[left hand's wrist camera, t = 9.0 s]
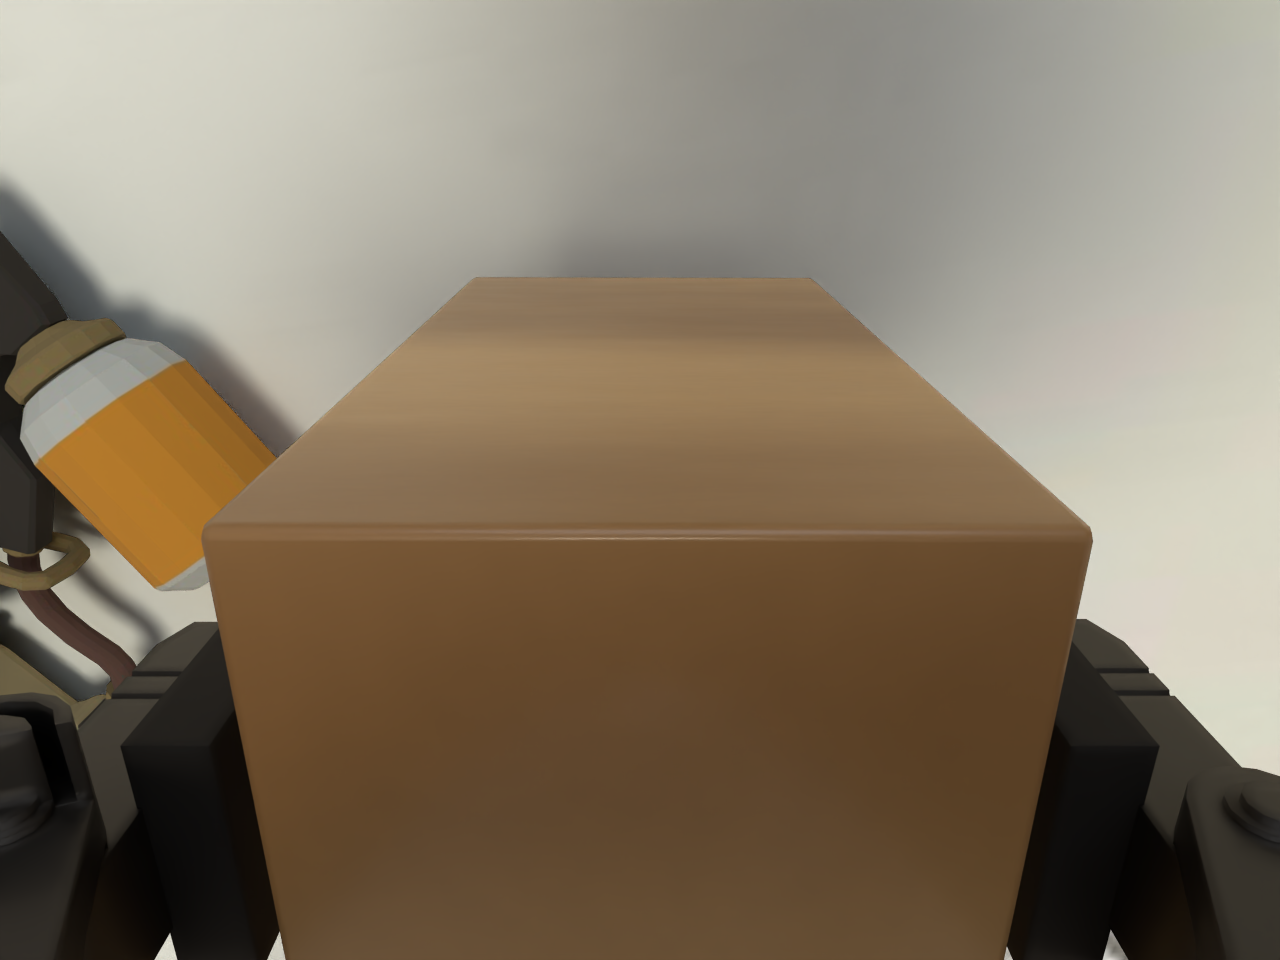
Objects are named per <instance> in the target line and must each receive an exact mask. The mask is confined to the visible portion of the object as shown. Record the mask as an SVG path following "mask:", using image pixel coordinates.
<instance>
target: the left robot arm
mask: <svg viewBox="0 0 1280 960" xmlns="http://www.w3.org/2000/svg"><path fill="white" fill-rule="evenodd" d="M111 694H112V696H111V699H106V700H105V701H104V702H103V703H102V704H101V705H100V706H99V707H98V708H97V710H96V711H95V712H94V713H93V714H92V715H91V716H90V717H89V718H88V719H87V720H86V721H85V722H84V724H83V725H82V726H81V727H80V728H79V729H78V730H77V727H76V724H75V721H74V717H73V714H72V710H71V707H70V705H68V704H67V703H66V702H64V701H63V700H61V699H60V698H59V697H57V696H54V695H47V694H40V693H34V692H29V693H19V694H8V695H0V960H154V959H155V958H156V956H157V954H158V952H159V951H160V949H161V947H162V946H163V944H164V942H165V940H166V939H167V937H168V935H169V934H171V938H172V941H173V945H174V949H175V952H176V956H177V960H267V959H268V956H269V954H270V952H271V950H272V947H273V945H274V943H275V941H276V938H277V936H278V934H279V932H280V929H279V924H278V919H277V914H276V909H275V904H274V900H273V895H272V890H271V885H270V880H269V875H268V870H267V865H266V860H265V855H264V850H263V845H262V840H261V835H260V830H259V825H258V820H257V815H256V810H255V805H254V800H253V795H252V790H251V785H250V780H249V775H248V770H247V765H246V760H245V755H244V750H243V745H242V741H241V736H240V731H239V726H238V721H237V716H236V711H235V706H234V701H233V696H232V691H231V686H230V681H229V676H228V671H227V666H226V661H225V656H224V651H223V646H222V641H221V636H220V631H219V626H218V622H194V623H192V624H190V625H189V626H187V627H185V628H184V629H182V630H180V631H179V632H177V633H175V634H174V635H172V636H170V637H169V638H167V639H165V640H164V641H162V642H160V643H159V644H157V645H156V646H155V647H154V648H153V649H152V650H151V651H150V652H149V654H148V655H147V656H146V657H145V658H144V659H143V660H142V661H141V662H140V663H139V664H138V665H137V666H136V668H135V669H134V670H133V671H132V676H131V677H126V678H125V679H124V680H123V682H122V683H121V684H120V685H119V686H118V687H117V688H116V689H115V690H114V691H113V692H112V693H111ZM1110 930H1111V931H1112V932H1113V934H1114V936H1115V937H1116V939H1117V941H1118V943H1119V944H1120V946H1121V948H1122V949H1123V951H1124V953H1125V955H1126V956H1127V958H1128V960H1280V776H1277V775H1274V774H1271V773H1267V772H1264V771H1261V770H1258V769H1251V768H1242V767H1241V766H1240V765H1239V764H1238V763H1237V762H1236V761H1235V760H1234V759H1233V758H1232V757H1231V756H1230V755H1229V753H1228V752H1227V751H1226V750H1225V749H1224V748H1223V747H1222V746H1221V745H1220V744H1219V743H1218V742H1217V741H1216V740H1215V738H1214V737H1213V736H1212V735H1211V734H1210V733H1209V732H1208V731H1207V730H1206V729H1205V728H1204V727H1203V726H1202V725H1201V724H1200V722H1199V721H1198V720H1197V719H1196V718H1195V717H1194V716H1193V715H1192V714H1191V713H1190V712H1189V711H1188V710H1187V709H1186V707H1185V706H1184V705H1183V704H1182V703H1181V702H1180V701H1179V700H1178V699H1177V698H1176V697H1175V696H1170V694H1169V689H1168V688H1167V687H1166V686H1165V685H1164V684H1163V683H1162V682H1161V681H1160V680H1159V679H1158V678H1157V676H1156V675H1155V674H1154V673H1149V668H1148V667H1147V666H1146V665H1145V664H1144V663H1143V661H1142V660H1141V659H1140V658H1139V657H1138V656H1137V655H1136V654H1135V653H1134V652H1133V651H1132V650H1131V649H1130V648H1129V647H1128V645H1127V644H1126V643H1125V642H1124V641H1122V640H1120V639H1119V638H1117V637H1115V636H1114V635H1112V634H1110V633H1109V632H1107V631H1105V630H1104V629H1102V628H1100V627H1099V626H1097V625H1095V624H1094V623H1092V622H1090V621H1089V620H1087V619H1076V623H1075V628H1074V633H1073V637H1072V642H1071V647H1070V651H1069V656H1068V661H1067V665H1066V670H1065V675H1064V679H1063V684H1062V689H1061V694H1060V698H1059V703H1058V708H1057V712H1056V717H1055V722H1054V726H1053V731H1052V736H1051V741H1050V745H1049V750H1048V755H1047V759H1046V764H1045V769H1044V773H1043V778H1042V783H1041V788H1040V792H1039V797H1038V802H1037V806H1036V811H1035V816H1034V820H1033V825H1032V830H1031V834H1030V839H1029V844H1028V849H1027V853H1026V858H1025V863H1024V867H1023V872H1022V877H1021V881H1020V886H1019V891H1018V896H1017V900H1016V905H1015V910H1014V914H1013V919H1012V924H1011V928H1010V933H1009V938H1008V943H1007V947H1008V950H1009V952H1010V954H1011V956H1012V959H1013V960H1103V956H1104V952H1105V949H1106V945H1107V941H1108V937H1109V934H1110Z"/></svg>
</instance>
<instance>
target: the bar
mask: <svg viewBox="0 0 1280 960" xmlns="http://www.w3.org/2000/svg"><path fill="white" fill-rule="evenodd" d="M201 542H202V547H203V552H204V557H205V562H206V567H207V572H208V577H209V582H210V586H211V591H212V596H213V601H214V606H215V611H216V616H217V621H218V626H219V631H220V636H221V641H222V646H223V651H224V656H225V661H226V666H227V671H228V676H229V681H230V686H231V691H232V696H233V701H234V706H235V711H236V716H237V721H238V726H239V731H240V736H241V741H242V745H243V750H244V755H245V760H246V765H247V770H248V775H249V780H250V785H251V790H252V795H253V800H254V805H255V810H256V815H257V820H258V825H259V830H260V835H261V840H262V845H263V850H264V855H265V860H266V865H267V870H268V875H269V880H270V885H271V890H272V895H273V900H274V904H275V909H276V914H277V919H278V924H279V929H280V934H281V939H282V944H283V949H284V954H285V959H286V960H1004V957H1005V952H1006V947H1007V943H1008V938H1009V933H1010V928H1011V924H1012V919H1013V914H1014V910H1015V905H1016V900H1017V896H1018V891H1019V886H1020V881H1021V877H1022V872H1023V867H1024V863H1025V858H1026V853H1027V849H1028V844H1029V839H1030V834H1031V830H1032V825H1033V820H1034V816H1035V811H1036V806H1037V802H1038V797H1039V792H1040V788H1041V783H1042V778H1043V773H1044V769H1045V764H1046V759H1047V755H1048V750H1049V745H1050V741H1051V736H1052V731H1053V726H1054V722H1055V717H1056V712H1057V708H1058V703H1059V698H1060V694H1061V689H1062V684H1063V679H1064V675H1065V670H1066V665H1067V661H1068V656H1069V651H1070V647H1071V642H1072V637H1073V633H1074V628H1075V623H1076V618H1077V614H1078V609H1079V604H1080V600H1081V595H1082V590H1083V586H1084V581H1085V576H1086V571H1087V567H1088V562H1089V557H1090V553H1091V548H1092V543H1093V539H1092V532H1091V529H1090V527H1089V526H1088V525H1087V524H1086V523H1085V522H1084V521H1083V520H1081V519H1080V518H1079V517H1078V516H1077V515H1076V514H1075V513H1074V512H1072V511H1071V510H1070V509H1069V508H1068V507H1067V506H1066V505H1065V504H1063V503H1062V502H1061V501H1060V500H1059V499H1058V498H1057V497H1056V496H1055V495H1053V494H1052V493H1051V492H1050V491H1049V490H1048V489H1047V488H1046V487H1044V486H1043V485H1042V484H1041V483H1040V482H1039V481H1038V480H1037V479H1035V478H1034V477H1033V476H1032V475H1031V474H1030V473H1029V472H1028V471H1027V470H1025V469H1024V468H1023V467H1022V466H1021V465H1020V464H1019V463H1018V462H1016V461H1015V460H1014V459H1013V458H1012V457H1011V456H1010V455H1009V454H1007V453H1006V452H1005V451H1004V450H1003V449H1002V448H1001V447H1000V446H998V445H997V444H996V443H995V442H994V441H993V440H992V439H991V438H990V437H988V436H987V435H986V434H985V433H984V432H983V431H982V430H981V429H979V428H978V427H977V426H976V425H975V424H974V423H973V422H972V421H970V420H969V419H968V418H967V417H966V416H965V415H964V414H963V413H962V412H960V411H959V410H958V409H957V408H956V407H955V406H954V405H953V404H951V403H950V402H949V401H948V400H947V399H946V398H945V397H944V396H942V395H941V394H940V393H939V392H938V391H937V390H936V389H935V388H934V387H932V386H931V385H930V384H929V383H928V382H927V381H926V380H925V379H923V378H922V377H921V376H920V375H919V374H918V373H917V372H916V371H914V370H913V369H912V368H911V367H910V366H909V365H908V364H907V363H905V362H904V361H903V360H902V359H901V358H900V357H899V356H898V355H897V354H895V353H894V352H893V351H892V350H891V349H890V348H889V347H888V346H886V345H885V344H884V343H883V342H882V341H881V340H880V339H879V338H877V337H876V336H875V335H874V334H873V333H872V332H871V331H870V330H869V329H867V328H866V327H865V326H864V325H863V324H862V323H861V322H860V321H858V320H857V319H856V318H855V317H854V316H853V315H852V314H851V313H849V312H848V311H847V310H846V309H845V308H844V307H843V306H842V305H841V304H839V303H838V302H837V301H836V300H835V299H834V298H833V297H832V296H830V295H829V294H828V293H827V292H826V291H825V290H824V289H823V288H821V287H820V286H819V285H818V284H817V283H816V282H815V281H814V280H812V279H810V278H552V277H476V278H474V279H472V280H471V281H470V282H469V283H468V284H467V285H466V286H465V287H464V288H462V289H461V290H460V291H459V292H458V293H457V294H456V295H455V296H454V297H453V298H452V299H450V300H449V301H448V302H447V303H446V304H445V305H444V306H443V307H442V308H441V309H440V310H438V311H437V312H436V313H435V314H434V315H433V316H432V317H431V318H430V319H429V320H428V321H426V322H425V323H424V324H423V325H422V326H421V327H420V328H419V329H418V330H417V331H416V332H414V333H413V334H412V335H411V336H410V337H409V338H408V339H407V340H406V341H405V342H404V343H402V344H401V345H400V346H399V347H398V348H397V349H396V350H395V351H394V352H393V353H391V354H390V355H389V356H388V357H387V358H386V359H385V360H384V361H383V362H382V363H381V364H379V365H378V366H377V367H376V368H375V369H374V370H373V371H372V372H371V373H370V374H369V375H367V376H366V377H365V378H364V379H363V380H362V381H361V382H360V383H359V384H358V385H357V386H355V387H354V388H353V389H352V390H351V391H350V392H349V393H348V394H347V395H346V396H345V397H343V398H342V399H341V400H340V401H339V402H338V403H337V404H336V405H335V406H334V407H333V408H331V409H330V410H329V411H328V412H327V413H326V414H325V415H324V416H323V417H322V418H321V419H319V420H318V421H317V422H316V423H315V424H314V425H313V426H312V427H311V428H310V429H308V430H307V431H306V432H305V433H304V434H303V435H302V436H301V437H300V438H299V439H298V440H296V441H295V442H294V443H293V444H292V445H291V446H290V447H289V448H288V449H287V450H286V451H284V452H283V453H282V454H281V455H280V456H279V457H278V458H277V459H276V460H275V461H274V462H272V463H271V464H270V465H269V466H268V467H267V468H266V469H265V470H264V471H263V472H262V473H260V474H259V475H258V476H257V477H256V478H255V479H254V480H253V481H252V482H251V483H250V484H248V485H247V486H246V487H245V488H244V489H243V490H242V491H241V492H240V493H239V494H238V495H236V496H235V497H234V498H233V499H232V500H231V501H230V502H229V503H228V504H227V505H225V506H224V507H223V508H222V509H221V510H220V511H219V512H218V513H217V514H216V515H215V516H213V517H212V518H211V519H210V520H209V521H208V522H207V523H206V524H205V525H204V527H203V530H202V536H201Z"/></svg>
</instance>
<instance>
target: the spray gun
mask: <svg viewBox="0 0 1280 960" xmlns="http://www.w3.org/2000/svg"><path fill="white" fill-rule="evenodd" d="M67 318H68V317H67V316H66V314H65V312H64V310H63V308H62V307H61V305H60V303H59V301H58V300H57V298H56V297H55V296H54V295H53V294H52V292H51V291H50V290H49V289H48V288H47V287H46V285H45V284H44V283H43V282H42V281H41V279H40V278H39V277H38V276H37V275H36V273H35V272H34V271H33V270H32V269H31V267H30V266H29V265H28V264H27V263H26V261H25V260H24V259H23V258H22V257H21V255H20V254H19V253H18V252H17V251H16V250H15V248H14V247H13V246H12V245H11V244H10V242H9V241H8V240H7V239H6V238H5V236H4V235H3V234H2V233H1V232H0V547H1V548H2V549H3V551H4V552H6V553H7V560H8V564H9V565H7V564H5V563H3V562H1V561H0V584H1V585H4V586H8V587H12V588H15V589H17V590H18V592H19V594H20V596H21V598H22V600H23V601H24V602H25V604H26V605H27V606H28V607H29V609H30V610H31V611H32V612H33V614H34V615H35V616H36V617H37V619H38V620H40V621H41V622H42V623H43V624H44V625H45V626H47V627H48V628H49V629H50V630H51V631H52V632H54V633H55V634H56V635H57V636H58V637H59V638H61V639H62V640H63V641H64V642H65V643H66V644H68V645H69V646H71V647H72V648H74V649H75V650H77V651H78V652H80V653H81V654H83V655H84V656H86V657H88V658H89V659H91V660H92V661H94V662H95V663H97V664H98V665H99V666H100V667H101V668H102V669H103V670H104V671H105V672H106V673H107V674H108V675H109V676H110V678H111V682H110V683H109V684H108V685H107V690H106V695H104V694H102V695H96V696H94V697H92V698H89V699H87V700H85V701H80V702H77V701H76V700H74V699H73V698H72V697H70V696H69V695H68V694H66V693H65V692H64V691H62V690H61V689H60V688H59V687H57V686H56V685H55V684H53V683H52V682H51V681H50V680H48V679H47V678H46V677H44V676H43V675H42V674H41V673H39V672H38V671H37V670H35V669H34V668H33V667H32V666H30V665H29V664H28V663H26V662H25V661H24V660H23V659H21V658H20V657H19V656H17V655H16V654H15V653H14V652H12V651H11V650H10V649H8V648H7V647H5V646H3V645H1V644H0V695H8V694H19V693H29V692H34V693H40V694H47V695H54V696H57V697H59V698H60V699H61V700H63V701H64V702H66V703H67V704H68V705H70V707H71V710H72V714H73V717H74V721H75V724H76V727H77V730H78V729H79V728H80V727H81V726H82V725H83V724H84V722H85V721H86V720H87V719H88V718H89V717H90V716H91V715H92V714H93V713H94V712H95V711H96V710H97V708H98V707H99V706H100V705H101V704H102V703H103V702H104V701H105V700H106V699H111V696H112V694H111V693H112V692H113V691H114V690H115V689H116V688H117V687H118V686H119V685H120V684H121V683H122V682H123V680H124V679H125V678H126V677H131V676H132V671H133V670H134V669H135V668H136V665H135V663H134V661H133V660H132V659H131V658H130V657H129V656H128V655H127V654H126V653H125V652H124V651H123V650H122V649H121V647H119V646H118V645H117V644H115V643H114V642H112V641H111V640H109V639H108V638H106V637H105V636H103V635H102V634H100V633H99V632H97V631H96V630H94V629H93V628H91V627H90V626H89V625H87V624H86V623H85V622H84V621H83V620H81V619H80V618H79V617H78V616H76V615H75V614H74V613H73V612H72V611H70V610H69V609H68V608H67V607H66V606H65V605H64V604H63V602H62V601H61V600H60V599H59V598H58V597H57V595H56V594H55V593H54V592H53V591H52V590H51V587H53V586H54V585H56V584H58V583H59V582H61V581H63V580H64V579H66V578H68V577H69V576H71V575H73V574H74V573H75V572H76V571H77V570H78V569H79V568H80V567H81V566H82V565H83V564H84V563H85V562H86V561H87V560H88V558H89V557H90V549H89V548H88V547H87V546H86V545H85V544H84V543H83V542H82V541H81V540H80V539H79V538H76V537H73V536H69V535H66V534H62V533H58V532H53V512H54V491H55V487H56V488H57V489H58V490H59V491H60V492H61V493H62V494H63V495H64V496H65V497H66V498H67V499H68V500H69V501H70V502H71V503H72V504H73V505H74V506H75V507H76V508H77V509H78V510H79V511H80V512H81V513H82V514H83V516H84V517H85V518H86V519H87V520H88V521H89V522H90V523H91V524H92V525H93V526H94V527H95V528H96V529H97V530H98V531H99V532H100V533H101V534H102V535H103V536H104V537H105V538H106V539H107V540H108V541H109V542H110V543H111V544H112V545H113V546H114V547H115V548H116V549H117V550H118V551H119V552H120V553H121V554H122V555H123V556H124V558H125V559H126V560H127V561H128V562H129V563H130V564H131V565H132V566H133V567H134V568H135V569H136V570H137V571H138V572H139V573H140V574H141V575H142V576H143V577H144V578H145V579H146V580H147V581H148V582H149V583H150V584H151V585H152V586H153V587H154V588H155V589H157V590H160V591H178V590H194V589H197V588H200V587H201V586H203V585H204V584H206V583H208V582H209V577H208V572H207V567H206V562H205V557H204V552H203V547H202V542H201V536H202V530H203V527H204V525H205V524H206V523H207V522H208V521H209V520H210V519H211V518H212V517H213V516H215V515H216V514H217V513H218V512H219V511H220V510H221V509H222V508H223V507H224V506H225V505H227V504H228V503H229V502H230V501H231V500H232V499H233V498H234V497H235V496H236V495H238V494H239V493H240V492H241V491H242V490H243V489H244V488H245V487H246V486H247V485H248V484H250V483H251V482H252V481H253V480H254V479H255V478H256V477H257V476H258V475H259V474H260V473H262V472H263V471H264V470H265V469H266V468H267V467H268V466H269V465H270V464H271V463H272V462H274V461H275V460H276V459H277V458H276V457H275V456H274V455H273V454H272V453H271V452H270V450H269V449H268V448H267V447H266V446H265V445H264V444H263V443H262V442H261V441H260V440H259V439H258V437H257V436H256V435H255V434H254V433H253V432H252V431H251V430H250V429H249V428H248V427H247V426H246V424H245V423H244V422H243V421H242V420H241V419H240V418H239V417H238V416H237V415H236V414H235V412H234V411H233V410H232V409H231V408H230V407H229V406H228V405H227V404H226V403H225V402H224V401H223V399H222V398H221V397H220V396H219V395H218V394H217V393H216V392H215V391H214V390H213V389H212V388H211V386H210V385H209V384H208V383H207V382H206V381H205V380H204V379H203V378H202V377H201V376H200V374H199V373H198V372H197V371H196V370H195V369H194V368H193V367H192V366H191V365H190V364H189V363H188V361H187V360H186V359H184V358H183V357H181V356H180V355H178V354H177V353H175V352H174V351H172V350H171V349H169V348H168V347H166V346H165V345H163V344H162V343H160V342H155V341H147V340H139V339H131V338H126V335H125V333H124V332H123V331H122V330H121V329H120V328H119V327H118V326H117V325H116V323H115V322H114V321H112V320H111V319H107V318H102V319H96V320H89V321H75V320H66V319H67ZM65 320H66V321H65ZM125 338H126V339H125ZM22 404H23V405H25V407H24V410H23V414H22ZM43 548H45V549H50V550H55V551H59V552H64V553H68V554H67V555H66V556H65V557H63V558H62V559H61V560H60V561H59V562H57V563H55V564H54V565H52V566H51V567H49V568H47V569H46V570H44V571H42V569H41V567H40V558H39V553H40V552H41V551H42V550H43Z"/></svg>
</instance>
